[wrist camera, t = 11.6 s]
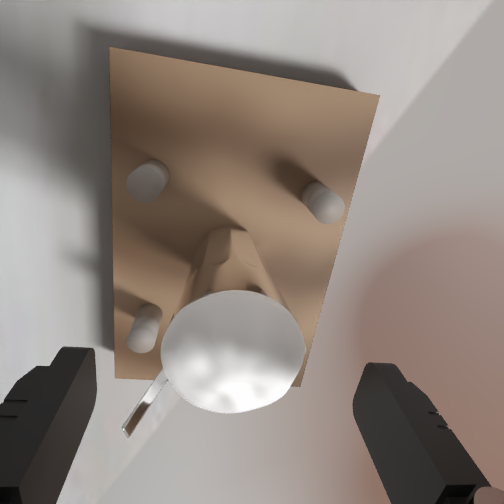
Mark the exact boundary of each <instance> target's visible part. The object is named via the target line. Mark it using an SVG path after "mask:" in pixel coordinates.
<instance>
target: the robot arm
mask: <svg viewBox="0 0 504 504" xmlns="http://www.w3.org/2000/svg"><path fill="white" fill-rule="evenodd" d="M96 394H97V382H96V364H95V351H94V349H93V348H83V347H62V348H61V349H60V350H59V352H58V353H57V355H56V357H55V358H54V360H53V361H52V363H51V365H50V366H36V367H35V368H33V369H32V370H31V371H30V372H28V373H27V374H26V375H24V376H23V377H22V378H20V379H19V380H18V381H17V382H16V383H15V385H14V386H13V388H12V389H11V390H10V392H9V393H8V395H7V396H6V397H5V399H4V402H3V403H1V404H0V504H56V502H57V500H58V497H59V495H60V492H61V490H62V487H63V485H64V482H65V480H66V477H67V475H68V472H69V470H70V467H71V465H72V462H73V460H74V457H75V455H76V452H77V450H78V447H79V445H80V442H81V440H82V437H83V435H84V432H85V430H86V427H87V425H88V422H89V420H90V417H91V415H92V412H93V409H94V405H95V401H96ZM353 414H354V418H355V420H356V423H357V425H358V428H359V430H360V432H361V435H362V437H363V439H364V442H365V444H366V446H367V448H368V451H369V453H370V455H371V458H372V459H373V462H374V465H375V467H376V469H377V472H378V474H379V476H380V479H381V481H382V483H383V486H384V488H385V490H386V492H387V495H388V497H389V499H390V502H391V504H504V491H502V490H500V489H498V488H494V487H492V486H491V485H490V484H489V482H488V481H487V479H486V478H485V477H484V475H483V474H482V472H481V471H480V470H479V468H478V467H477V465H476V464H475V463H474V461H473V460H472V458H471V457H470V456H469V454H468V453H467V451H466V450H465V449H464V447H463V446H462V444H461V443H460V441H459V440H458V439H457V437H456V436H455V434H454V433H453V432H452V430H451V429H449V428H448V425H447V423H446V422H445V420H444V419H443V417H442V416H441V415H439V412H438V411H437V409H436V408H435V406H434V405H433V403H432V402H431V401H430V399H429V398H428V396H427V395H426V394H424V393H423V392H422V391H421V390H420V389H419V388H418V387H416V386H415V385H414V384H413V383H412V382H407V380H406V379H405V378H404V376H403V375H402V373H401V372H400V370H399V369H398V367H397V366H396V365H394V364H392V363H391V364H390V363H371V362H370V363H368V364H366V366H365V368H364V371H363V374H362V376H361V379H360V382H359V385H358V387H357V390H356V393H355V395H354V399H353Z"/></svg>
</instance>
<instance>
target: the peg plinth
mask: <svg viewBox="0 0 504 504" xmlns="http://www.w3.org/2000/svg"><path fill="white" fill-rule="evenodd" d="M109 60H110V119H111V178H112V237H113V296H114V355H115V378H119V379H141V380H155V378H156V377H157V376H158V374H159V373H160V371H161V370H162V368H163V366H162V362H161V343H162V340H163V337H164V334H165V332H166V330H167V328H168V326H169V323H170V321H171V318H172V316H173V313H174V311H175V309H176V306H177V304H178V301H179V299H180V296H181V294H182V291H183V288H184V285H185V282H186V279H187V277H188V274H189V271H190V268H191V265H192V262H193V259H194V257H195V254H196V251H197V248H198V245H199V243H200V242H201V241H202V240H203V239H204V238H205V237H206V235H207V234H208V233H209V232H210V231H211V230H212V229H216V228H221V227H225V226H229V225H231V226H234V227H236V228H239V229H242V230H244V231H247V232H249V234H250V235H251V237H252V239H253V240H254V242H255V243H256V245H257V246H258V248H259V250H260V252H261V254H262V256H263V258H264V260H265V263H266V265H267V267H268V269H269V271H270V273H271V275H272V277H273V280H274V282H275V284H276V285H277V287H278V289H279V290H280V292H281V294H282V296H283V298H284V299H285V301H286V303H287V305H288V307H289V308H290V310H291V312H292V314H293V316H294V318H295V319H296V321H297V323H298V325H299V327H300V330H301V333H302V336H303V341H304V360H303V364H302V366H301V368H300V370H299V372H298V374H297V376H296V377H295V379H294V381H293V383H292V384H291V386H295V387H300V386H301V382H302V378H303V375H304V371H305V367H306V364H307V360H308V356H309V353H310V349H311V345H312V342H313V338H314V334H315V331H316V327H317V324H318V320H319V316H320V313H321V309H322V305H323V301H324V298H325V294H326V291H327V287H328V283H329V280H330V276H331V272H332V269H333V265H334V262H335V258H336V254H337V250H338V247H339V243H340V240H341V236H342V232H343V229H344V225H345V221H346V218H347V214H348V210H349V207H350V203H351V200H352V196H353V192H354V189H355V185H356V181H357V178H358V174H359V170H360V167H361V163H362V160H363V156H364V152H365V149H366V145H367V141H368V138H369V134H370V130H371V127H372V123H373V119H374V116H375V112H376V108H377V105H378V101H379V98H380V95H375V94H370V93H364V92H359V91H353V90H348V89H342V88H336V87H331V86H325V85H320V84H314V83H309V82H303V81H298V80H292V79H286V78H281V77H275V76H270V75H264V74H259V73H253V72H248V71H242V70H236V69H231V68H225V67H220V66H214V65H209V64H203V63H198V62H192V61H186V60H181V59H175V58H170V57H164V56H159V55H153V54H148V53H142V52H136V51H131V50H125V49H120V48H114V47H109ZM167 381H169V380H167Z"/></svg>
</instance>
